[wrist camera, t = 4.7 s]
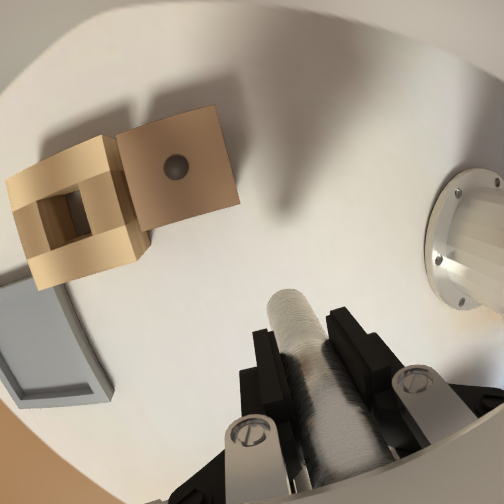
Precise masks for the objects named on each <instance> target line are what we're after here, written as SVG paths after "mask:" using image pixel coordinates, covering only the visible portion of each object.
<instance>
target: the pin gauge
mask: <svg viewBox="0 0 504 504" xmlns="http://www.w3.org/2000/svg"><path fill="white" fill-rule="evenodd" d="M267 314H268V318H269V322H270V326H271V330H272V331H274V334H275V338H276V341H277V345H278V349H279V353H280V356H281V360H282V364H283V368H284V371H285V375H286V379H287V382H288V386H289V390H290V394H291V398H292V401H293V405H294V409H295V413H296V417H297V421H298V425H299V428H298V435H299V439H300V443H301V447H302V451H303V455H304V459H305V463H306V467H307V471H308V474H309V478H310V482H311V486H312V489H315V488H319V487H323V486H326V485H330V484H333V483H336V482H340V481H343V480H346V479H349V478H352V477H355V476H358V475H361V474H364V473H367V472H369V471H372V470H375V469H377V468H380V467H383V466H385V465H388V464H390V463H392V462H395V461H396V460H395V458H394V456H393V454H392V452H391V451H390V449H389V447H388V445H387V443H386V441H385V439H384V437H383V436H382V434H381V432H380V430H379V428H378V426H377V424H376V423H375V421H374V419H373V417H372V415H371V413H370V412H369V410H368V408H367V406H366V405H365V403H364V401H363V399H362V397H361V395H360V394H359V392H358V390H357V388H356V386H355V385H354V383H353V381H352V379H351V377H350V375H349V374H348V372H347V370H346V368H345V366H344V365H343V363H342V361H341V359H340V358H339V356H338V354H337V352H336V350H335V349H334V347H333V345H332V343H331V342H330V340H329V338H328V336H327V334H326V332H325V331H324V329H323V327H322V325H321V324H320V322H319V320H318V318H317V317H316V315H315V313H314V311H313V310H312V308H311V306H310V305H309V303H308V301H307V299H306V298H305V296H304V295H303V294H302V293H301V292H299V291H297V290H294V289H284V290H280V291H278V292H277V293H275V294H274V295H273V296H272V297H271V298H270V300H269V302H268V305H267Z"/></svg>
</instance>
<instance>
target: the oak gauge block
mask: <svg viewBox="0 0 504 504" xmlns="http://www.w3.org/2000/svg"><path fill="white" fill-rule="evenodd" d="M5 183H6V187H7V192H8V196H9V200H10V204H11V208H12V212H13V216H14V220H15V223H16V227H17V230H18V234H19V237H20V240H21V243H22V247H23V250H24V253H25V256H26V259H27V262H28V264H29V267H30V270H31V273H32V275H33V278H34V281H35V283H36V286H37V288H38V291H40V290H43V289H46V288H49V287H53V286H56V285H59V284H62V283H66V282H69V281H72V280H75V279H79V278H82V277H85V276H89V275H92V274H95V273H99V272H102V271H105V270H109V269H112V268H116V267H119V266H122V265H126V264H129V263H133V262H136V261H138V259H139V258H140V257H141V256H142V255H143V254H144V252H145V251H146V250H147V249H148V248H149V247H150V245H151V243H150V240H149V237H148V233H147V231H144V232H142V231H141V228H140V225H139V221H138V218H137V215H136V211H135V208H134V204H133V201H132V197H131V194H130V190H129V187H128V183H127V179H126V175H125V172H124V168H123V164H122V160H121V156H120V152H119V148H118V143H117V140H116V139H113V138H110V137H107V136H104V135H99V136H97V137H94V138H92V139H89V140H87V141H85V142H82V143H80V144H78V145H75V146H73V147H71V148H68V149H66V150H64V151H62V152H60V153H57V154H55V155H53V156H51V157H49V158H47V159H45V160H43V161H41V162H39V163H37V164H35V165H33V166H31V167H29V168H27V169H25V170H23V171H21V172H19V173H17V174H16V175H14V176H12V177H10V178H8V179H7V180H5ZM77 190H80V194H81V197H82V201H83V205H84V208H85V212H86V215H87V218H88V222H89V225H90V228H91V232H90V233H87V234H84V235H82V236H79V237H77V234H76V231H75V228H74V224H73V221H72V218H71V214H70V211H69V207H68V204H67V200H66V196H65V195H67V194H69V193H72V192H74V191H77Z"/></svg>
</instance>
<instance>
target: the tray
mask: <svg viewBox="0 0 504 504" xmlns="http://www.w3.org/2000/svg"><path fill="white" fill-rule="evenodd" d="M0 379H1V381H2V383H3V384H4V386H5V388H6V389H7V391H8V392H9V394H10V395H11V397H12V399H13V400H14V402H15V403H16V405H17V406H18V408H19V409H30V408H51V407H65V406H77V405H88V404H97V403H106V402H111V399H112V396H113V394H114V391H115V390H114V389H113V387H112V385H111V383H110V382H109V380H108V378H107V376H106V374H105V373H104V371H103V369H102V367H101V365H100V363H99V361H98V359H97V358H96V356H95V354H94V352H93V350H92V348H91V346H90V344H89V341H88V339H87V337H86V335H85V333H84V331H83V329H82V327H81V324H80V322H79V320H78V318H77V316H76V313H75V311H74V309H73V306H72V304H71V302H70V299H69V297H68V294H67V292H66V289H65V287H64V284H63V283H62V284H59V285H56V286H53V287H49V288H46V289H43V290H40V291H38V288H37V286H36V283H35V281H34V278H33V275H31V276H28V277H25V278H23V279H20V280H17V281H14V282H11V283H9V284H6V285H3V286H0Z"/></svg>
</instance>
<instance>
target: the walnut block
mask: <svg viewBox="0 0 504 504" xmlns="http://www.w3.org/2000/svg"><path fill="white" fill-rule="evenodd" d="M116 139H117V143H118V148H119V152H120V156H121V160H122V164H123V168H124V172H125V175H126V179H127V183H128V187H129V190H130V194H131V197H132V201H133V204H134V208H135V211H136V215H137V218H138V221H139V225H140V228H141V231H142V232H144V231H147V230H151V229H154V228H157V227H161V226H164V225H167V224H171V223H174V222H177V221H181V220H184V219H188V218H191V217H195V216H198V215H202V214H205V213H209V212H213V211H216V210H220V209H224V208H227V207H231V206H235V205H238V204H240V200H239V196H238V192H237V188H236V185H235V181H234V177H233V173H232V169H231V165H230V162H229V158H228V154H227V150H226V146H225V142H224V139H223V135H222V131H221V127H220V123H219V119H218V116H217V112H216V108H215V105H211V106H207V107H203V108H199V109H196V110H192V111H188V112H185V113H181V114H178V115H174V116H171V117H168V118H165V119H161V120H158V121H155V122H152V123H149V124H146V125H143V126H140V127H137V128H134V129H131V130H128V131H126V132H123V133H120V134H117V135H116Z"/></svg>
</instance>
